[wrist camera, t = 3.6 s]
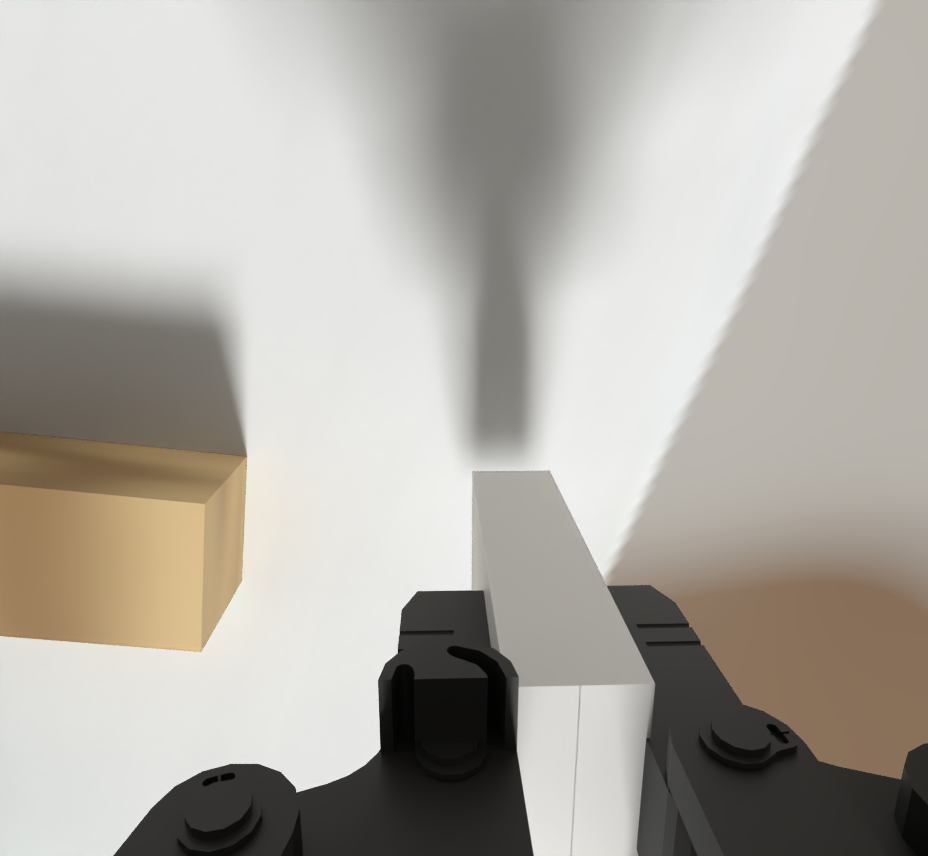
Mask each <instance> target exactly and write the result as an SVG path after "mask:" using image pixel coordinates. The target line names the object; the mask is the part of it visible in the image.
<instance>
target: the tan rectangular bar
mask: <svg viewBox="0 0 928 856" xmlns="http://www.w3.org/2000/svg"><path fill="white" fill-rule="evenodd" d="M246 470H247V457H246V456H236V455H226V454H217V453H207V452H197V451H187V450H177V449H167V448H157V447H148V446H138V445H128V444H118V443H108V442H98V441H88V440H79V439H69V438H59V437H49V436H39V435H29V434H19V433H10V432H0V636H7V637H20V638H32V639H44V640H57V641H69V642H82V643H94V644H107V645H119V646H132V647H144V648H157V649H169V650H182V651H194V652H201V651H202V650H203V648H204V646H205V644H206V643H207V641H208V639H209V637H210V636H211V634H212V632H213V630H214V629H215V627H216V625H217V623H218V622H219V620H220V618H221V616H222V615H223V613H224V611H225V609H226V608H227V606H228V604H229V602H230V601H231V599H232V597H233V595H234V594H235V592H236V590H237V588H238V587H239V585H240V583H241V581H242V566H243V542H244V518H245V494H246Z"/></svg>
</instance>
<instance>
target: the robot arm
mask: <svg viewBox="0 0 928 856" xmlns="http://www.w3.org/2000/svg"><path fill="white" fill-rule="evenodd" d="M378 688H379V716H380V744H381V749H380V751H379V752H378V753H377V754H376V755H375V756H374V757H373V758H372V759H371V760H370V761H369V762H368V763H367V764H366V765H365V766H363V767H362V768H360V769H358V770H357V771H355V772H353V773H352V774H350V775H349V776H346V777H344V778H341V779H339V780H336V781H333V782H331V783H328V784H325V785H322V786H318V787H315V788H311V789H308V790H304V791H301V792H297V793H296V789H295V787H294V786H293V785H292V783H291V782H290V781H289V780H288V779H287V778H286V777H285V776H284V775H283V774H282V773H281V772H279V771H276V770H273V769H271V768H268V767H265V766H262V765H259V764H229V765H226V766H222V767H218V768H214V769H211V770H207V771H203V772H201V773H199V774H197V775H195V776H194V777H192V778H190V779H188V780H186V781H184V782H183V783H181V784H179V785H177V786H175V787H174V788H173V789H172V790H171V791H170V792H169V793H167V794H166V795H165V796H164V797H163V798H162V799H161V800H160V801H159V802H158V803H157V804H156V805H155V806H154V807H152V809H151V810H150V811H149V812H148V813H147V815H146V816H145V817H144V818H143V820H142V821H141V822H140V823H139V825H138V826H137V827H136V828H135V830H134V831H133V832H132V833H131V835H130V836H129V837H128V838H127V840H126V841H125V842H124V843H123V844H122V846H121V847H120V848H119V849H118V851H117V852H116V853H115V854H114V856H928V743H927V744H923V745H921V746H919V747H917V748H915V749H914V750H912V751H910V752H908V755H907V758H906V762H905V765H904V770H903V774H902V779H901V780H900V779H895V778H890V777H886V776H881V775H876V774H871V773H866V772H862V771H857V770H852V769H847V768H842V767H838V766H834V765H831V764H827V763H824V762H820V761H818V760H817V759H816V757H815V756H814V754H813V753H812V752H811V750H810V749H809V748H808V746H807V745H806V744H805V742H804V741H803V740H802V739H801V738H800V737H799V736H798V735H796V734H795V732H794V731H793V730H791V729H790V728H789V727H788V726H787V725H786V724H784V723H783V722H781V721H779V720H777V719H776V718H774V717H772V716H771V715H769V714H767V713H765V712H764V711H761V710H758V709H755V708H752V707H749V706H746V705H743V704H742V703H741V701H740V700H739V698H738V697H737V695H736V694H735V692H734V691H733V689H732V688H731V686H730V685H729V683H728V682H727V680H726V679H725V677H724V676H723V674H722V673H721V671H720V670H719V668H718V667H717V665H716V663H715V662H714V661H713V659H712V657H711V656H710V654H709V653H708V651H707V650H706V649H705V647H704V646H703V645H701V643H700V639H699V638H698V636H697V635H696V633H695V632H694V630H693V629H692V628H691V627H690V628H689V623H688V622H687V620H686V619H685V617H684V616H683V614H682V612H681V611H680V610H679V608H678V606H677V605H676V603H675V602H673V601H672V600H671V599H669V598H668V597H666V596H665V595H663V594H662V593H660V592H659V591H657V590H656V589H654V588H653V587H652V586H650V585H639V586H636V585H635V586H606V584H605V582H604V580H603V577H602V575H601V573H600V571H599V569H598V567H597V565H596V563H595V561H594V559H593V557H592V555H591V553H590V551H589V549H588V547H587V545H586V543H585V541H584V539H583V537H582V535H581V533H580V531H579V529H578V527H577V525H576V523H575V521H574V519H573V517H572V515H571V513H570V511H569V509H568V507H567V505H566V503H565V501H564V499H563V497H562V495H561V493H560V491H559V489H558V487H557V485H556V483H555V481H554V479H553V477H552V475H551V473H550V471H472V591H418V592H417V593H416V594H415V595H414V596H413V597H412V599H411V600H410V601H409V602H408V603H407V604H406V606H405V607H404V608H403V609H402V614H401V624H400V636H399V644H398V654H397V655H395V656H394V657H393V658H392V659H391V660H389V661H388V662H387V663H386V664H385V666H384V668H383V671H382V673H381V675H380V677H379V679H378Z"/></svg>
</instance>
